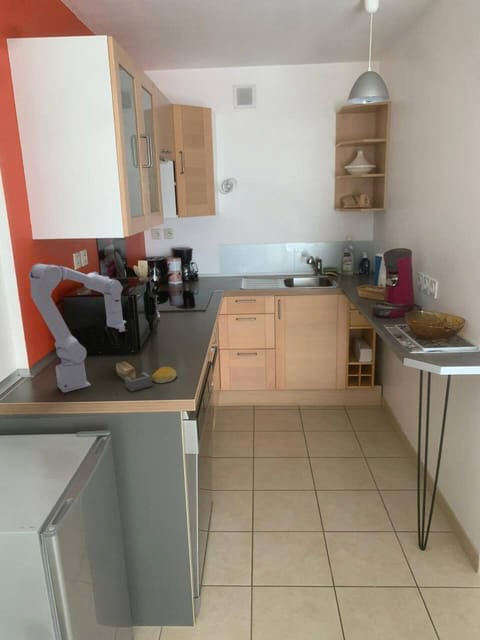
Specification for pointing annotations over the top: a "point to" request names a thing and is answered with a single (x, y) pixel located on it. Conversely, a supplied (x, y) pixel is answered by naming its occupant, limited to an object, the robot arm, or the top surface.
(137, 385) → the end cap
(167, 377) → the bread roll
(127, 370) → the brown wooden block
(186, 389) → the top surface
